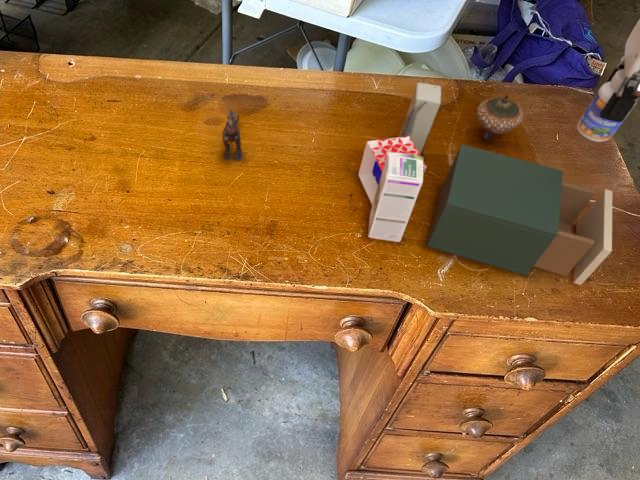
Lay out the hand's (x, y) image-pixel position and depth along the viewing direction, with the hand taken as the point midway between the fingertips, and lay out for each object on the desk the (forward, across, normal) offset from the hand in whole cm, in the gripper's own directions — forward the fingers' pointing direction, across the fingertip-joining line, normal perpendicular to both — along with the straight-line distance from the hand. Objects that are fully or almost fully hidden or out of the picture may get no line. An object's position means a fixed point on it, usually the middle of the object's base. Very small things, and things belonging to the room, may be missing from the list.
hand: (611, 105), depth 86 cm
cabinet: (+21, -11, +10) cm, 26 cm away
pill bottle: (+5, 0, 0) cm, 5 cm away
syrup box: (+21, -17, +26) cm, 38 cm away
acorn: (+21, +14, +12) cm, 28 cm away
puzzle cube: (+21, -8, +28) cm, 36 cm away
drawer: (+20, -11, +1) cm, 23 cm away
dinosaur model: (+21, -8, +58) cm, 62 cm away
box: (+21, +5, +26) cm, 34 cm away
